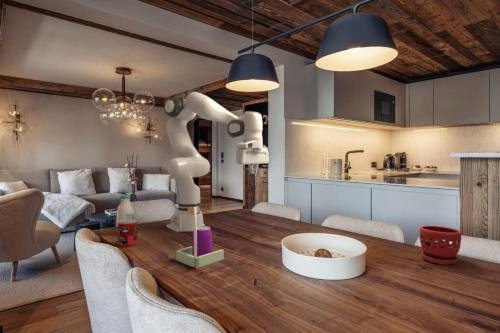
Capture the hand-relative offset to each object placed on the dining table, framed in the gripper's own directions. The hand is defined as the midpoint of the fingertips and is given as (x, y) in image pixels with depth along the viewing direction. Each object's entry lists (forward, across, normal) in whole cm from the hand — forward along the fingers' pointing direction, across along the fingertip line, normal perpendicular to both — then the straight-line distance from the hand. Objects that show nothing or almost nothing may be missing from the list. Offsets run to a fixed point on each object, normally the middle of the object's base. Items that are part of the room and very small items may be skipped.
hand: (253, 173), depth 147 cm
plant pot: (+31, -21, +74) cm, 83 cm away
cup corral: (+31, +38, +6) cm, 49 cm away
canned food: (+31, +47, -34) cm, 66 cm away
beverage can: (+31, +36, +6) cm, 48 cm away
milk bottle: (+32, +39, -53) cm, 73 cm away
